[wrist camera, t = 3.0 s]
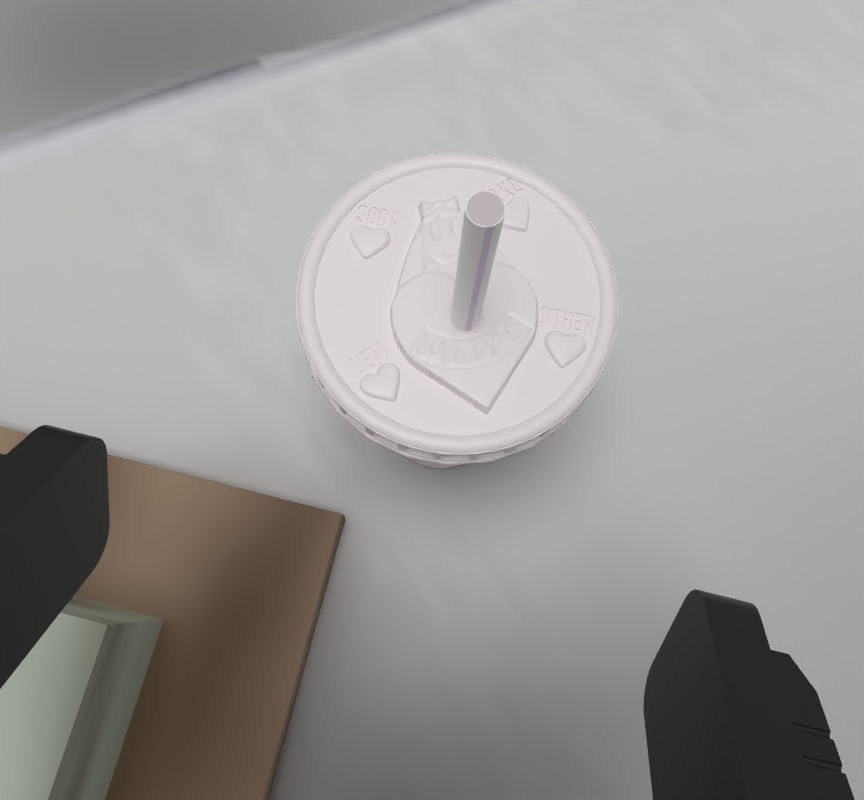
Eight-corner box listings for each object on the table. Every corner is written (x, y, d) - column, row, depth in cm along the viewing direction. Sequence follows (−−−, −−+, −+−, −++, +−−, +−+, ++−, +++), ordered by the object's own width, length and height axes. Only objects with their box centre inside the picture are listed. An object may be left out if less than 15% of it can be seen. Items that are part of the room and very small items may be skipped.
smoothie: (359, 531, 23) (282, 442, 9) (322, 335, 25) (212, 16, 11) (562, 488, 23) (769, 345, 10) (515, 298, 25) (636, -51, 11)
